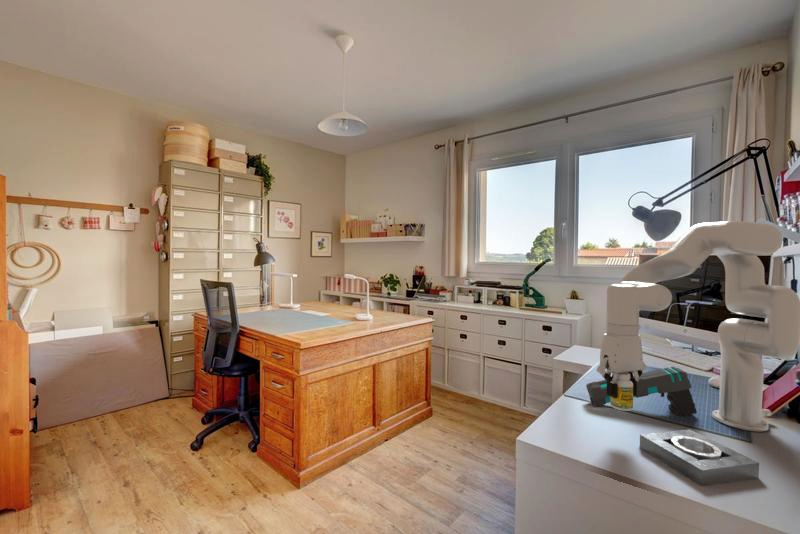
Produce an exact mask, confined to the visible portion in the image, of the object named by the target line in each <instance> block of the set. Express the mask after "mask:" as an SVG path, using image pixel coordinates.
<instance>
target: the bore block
mask: <svg viewBox="0 0 800 534" xmlns="http://www.w3.org/2000/svg"><path fill="white" fill-rule="evenodd" d="M639 448H640V449H641V450H643V452H644V451H645V452H646V453H648V454H649V455H651V456H653V457H654V458H655V459H657V460H659V461H660V462H662V463H664V464H665V465H667V466H668V467H670V468H672V469H674V470H675V471H677V472H678V473H679V474H681V475H683V476H685V477H687V478H688V479H690V480H691V481H692V482H694V483H696V484H697V485H699V486H701V487H703V486H711V485H718V484H725V483H733V482H738V481H745V480H752V479H759V476H760V475H759V473H760V462H759V461H756V460H755V459H752V458H750V457H748V456H746V455H745V454H742V453H740V452H738V451H736V450H734V449H732V448H729V447H728V446H725V445H723V444H721V443H719V442H716V440H713V439H711V438H709V437H707V436H705V435H703V434H701V433H699V432H696V431H694V430H692V429H691V428H690V429H680V430H673V431H672V430H671V431H670V430H669V431H663V432H661V431H660V432H654V433H653V432H651V433H642V434H640V435H639Z"/></svg>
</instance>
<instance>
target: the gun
mask: <svg viewBox="0 0 800 534" xmlns="http://www.w3.org/2000/svg"><path fill="white" fill-rule="evenodd" d="M585 387H586V390H587V393H588V396H589V400H590V403H591V404H592V405H594V407H598V406H605V405H606V404H607V403H611V402H610V400H611V399H610V396H609V395H607V381H606V380H605V379H602V380H599V381H592V382H589V383H587V384H586V385H585ZM690 389H692V385H691V381H690V380H689V376H688V374H687V372H686V371H684V370H683V369H680V368H679V367H675V366H670V368H669V367H665V368H664V369H662V368H660V369H656V370H649V371H644V372H642V374H641V376H640V377H639V381H637V396H633V399H634V398H636V399H637V398H643V397H647V396H649V395H652V394H657V393H658V394H660V397H661V398H665V394H666V399H667V401H669V403H670V404H667V406H668V409H670V410H671V411H672V412H673V413H674V414H676V415H677V416H679V417H685V416H689V415H695V414H697V413H698V412H697V411H698V410H697V408H696V404H695V402H694V400H693V395H692V393H691V391H690Z"/></svg>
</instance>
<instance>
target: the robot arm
mask: <svg viewBox="0 0 800 534" xmlns="http://www.w3.org/2000/svg"><path fill="white" fill-rule="evenodd" d="M783 240H784V237H783V234H782V232H781V231H780V229H779V228H778V227H776V226H775V225H773V224H768V223H761V222H760V223H758V222H749V221H741V220H725V221H723V220H722V221H711V222H710V221H709V222H701V223H697V224H694V225H692V226H690V227H689V228H688V229H687V230H686V231H684V233H683V234H682V235H681V236H680V237H679V238H678V239H677V240H676V241H675V242H673V244H672V245H671V246H670V247H669V248H668V249H667V250H666V251H665V252H663V253H662V254H660V255H658V256H655V257H653V258H651V259H649V260H647V261H644V262H643V263H641V264H638V265H637V266H635V267H633V268H632V269H631V270H629V271H628V272H627V273H626V274H625V275H624V276H623V277H622V278H621V279H620V280H619V281H618V283H613V284H609V285H608V286H607V287H606V288H607V289H606V328H605V329H606V333H604V334H603V336H602V340H601V345H600V356H599V365H598V366H597V368H596V371H597V373H598V374H599V375H601V377H603V378H604V379H603V380H606V381H607V395H609V396H611V397H613V398H617V397H618V384H617V383H615V382H616V379H617V376H618V373H623V372H628V373H630V381H631V382H632V383H633V396H637V381H639V377H640V376H641V374H642V373H644V372H645V370H646V369H647V364H645V362H644V358H643V357H644V356H643V355H644V353H643V345H642V339H641V338H642V337H641V335H640V329H641V325H640V311H647V312H660V311H664V310H667V309H668V308H669V306H670V305H671V304H672V301H673V296H672V295H673V294H672V292H671V290H670V289H668V288H667V287H666V286H664V285H662V284H659V282H664V281H670V280H674V279H675V280H676V279H679V278H683V277H686V276H689V275H691V274H693V273H694V272H695V271H696V270H697V269H698V268H699V267H700V266H702V264H703V263H704V262H705V261H706V259H708V257H710V256H711V254H715V256H716V257H718V259H719V260H720V261H721V262H722V264H723V267H724V272H725V283H724V284H725V285H724V286H725V287H724V288H725V289H724V291H725V295H724V297H725V298H724V299H725V300H724V302H725V306H726V308H727V310H728V311H730V312H731V313H734V314H736V315H742V316H749V317H757V318H764V319H767V321H759V320H755V319H747V318H737V317H735V318H733V317H732V318H727V319H725V320H724V321H723V320H722V321H721V322H720V324H718V325H719V326H718V329H717V337H718V342H719V348H720V370H719V371H720V372H719V373H720V376H719V395H718V396H719V397H718V398H719V400H718V409H715V410H713V411H711V416H712V418H713V419H714V420H716V421H717V422H719V423H722V424H724V425H727V426H730V427H731V428H734V429H735V428H736V429H738V430H739V429H740V430H743V431H749V432H750V431H751V432H759V433H760V432H766V431H768V430H769V423H768V422H766V421H765V420H764V419H763V418H764V417H770V416H772V411H771V410H770V409H768V408H763V396H764V395H763V394H764V393H763V392H764V391H763V390H764V389H763V388H764V375H765V374H764V373H765V370H764V364H763V363H762V361H761V359H760V357H759V356H758V355H760V356H764V357H769V358H774V359H779V360H789V359H792V358H793V357H795V355H797V353H798V352H799V347H800V296H798V294H797V292H796V291H794V290H793V289H792V288H791V287H788V286H787V287H786V286H783V285H772V284H766V281H765V280H766V279H765V266H764V264H763V262H762V261H761V259H760V257H758V256H769V255H772V254H774V253H776V252H778V250H779V249H780V248H781V247H782V244H783Z"/></svg>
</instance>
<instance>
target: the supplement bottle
mask: <svg viewBox="0 0 800 534" xmlns="http://www.w3.org/2000/svg"><path fill="white" fill-rule="evenodd" d="M615 383H617V384H618V397H617V398H613V397H611V396H610V399H611V400H610V402H609V403H610V406H611V407H612V408H613V409H615V410H619V411H623V412H630V411H632V410H633V409H634V398H633V383H632V382H631V381H630V373H628V372H623V373H618V376H617V379H616V382H615Z"/></svg>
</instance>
